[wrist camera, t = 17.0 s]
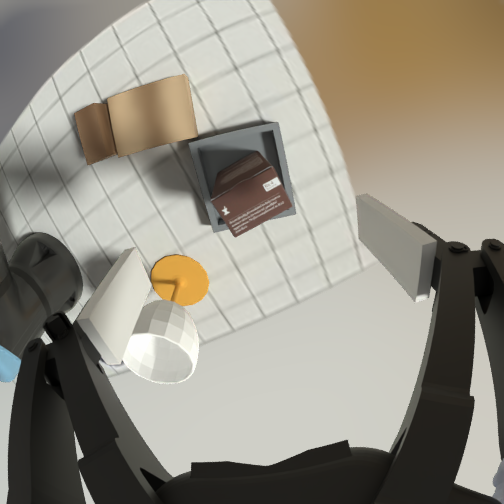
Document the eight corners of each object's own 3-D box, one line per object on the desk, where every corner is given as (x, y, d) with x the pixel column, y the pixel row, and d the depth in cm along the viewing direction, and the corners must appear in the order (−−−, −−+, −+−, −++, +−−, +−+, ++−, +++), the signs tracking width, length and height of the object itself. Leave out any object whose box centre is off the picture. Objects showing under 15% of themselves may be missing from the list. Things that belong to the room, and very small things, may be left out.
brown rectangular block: (105, 159, 31) (87, 165, 27) (93, 113, 28) (74, 113, 24) (123, 151, 31) (107, 156, 27) (111, 104, 28) (93, 103, 24)
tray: (215, 225, 37) (213, 232, 34) (191, 141, 32) (188, 143, 29) (292, 208, 36) (296, 214, 34) (275, 122, 31) (278, 122, 29)
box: (234, 202, 35) (233, 240, 24) (216, 172, 33) (205, 197, 22) (276, 179, 34) (295, 207, 23) (259, 148, 32) (270, 161, 21)
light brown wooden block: (127, 154, 32) (118, 157, 29) (116, 99, 28) (107, 98, 26) (199, 136, 32) (195, 137, 29) (188, 78, 28) (184, 74, 25)
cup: (145, 293, 41) (113, 369, 27) (159, 245, 37) (120, 317, 23) (198, 312, 43) (185, 394, 29) (218, 267, 40) (209, 349, 25)
